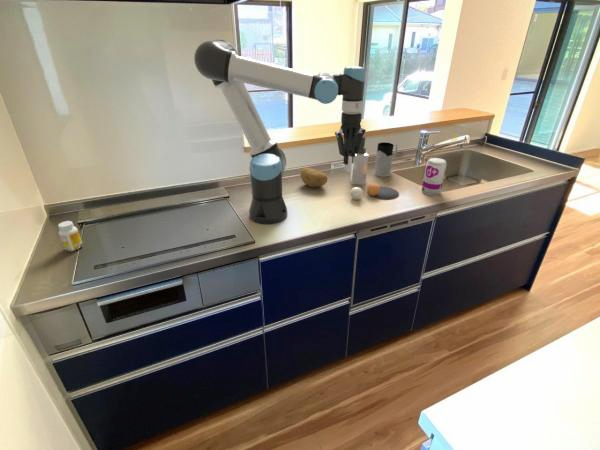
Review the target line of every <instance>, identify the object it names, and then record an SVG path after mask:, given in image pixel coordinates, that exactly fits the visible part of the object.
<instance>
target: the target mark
mask: <svg viewBox="0 0 600 450" xmlns="http://www.w3.org/2000/svg"><path fill="white" fill-rule="evenodd" d="M378 186H379V185H378ZM379 187H380V192H379V193H378V194H377V195H376V196H371V195H369V194H368V192H367V191H366V192H367V195H368V196H370V197H371V198H374V199H377V200H385V201H387V200H388V201H389V200H394V199H397V198H398V197H399V196H400V193H399V191H398V190H397V189H395V188H392V187H388V186H381V185H380V186H379Z"/></svg>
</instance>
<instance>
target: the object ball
mask: <svg viewBox="0 0 600 450" xmlns="http://www.w3.org/2000/svg"><path fill="white" fill-rule="evenodd" d="M366 192H368V193H367V195H368V194H369V195H368V196H370V195H371V196H376V195H377V194H378V193H379V192H380V187H379V184H377V183H370V184H368V186H367V189H366ZM371 196H370V197H371Z"/></svg>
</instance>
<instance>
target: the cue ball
mask: <svg viewBox="0 0 600 450" xmlns="http://www.w3.org/2000/svg"><path fill="white" fill-rule="evenodd" d="M349 195H350V198H352V199H353V200H357V201H358V200H360V199H362V197H363V196H364V191H363V189H362V188H361V187H359V186H355V187H352V188H351V189H350V192H349Z"/></svg>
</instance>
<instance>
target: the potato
mask: <svg viewBox="0 0 600 450" xmlns="http://www.w3.org/2000/svg"><path fill="white" fill-rule="evenodd" d="M300 178H301V180H302V182H303V184H305V185H306V186H308V187H310V188H320V187H323V186H325V185H326V184H327V182H328V176H327V175H326V173H324V172H322V171H320V170H318V169H314V168H311V167H305V168H303V169H302V170H301V171H300Z"/></svg>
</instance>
